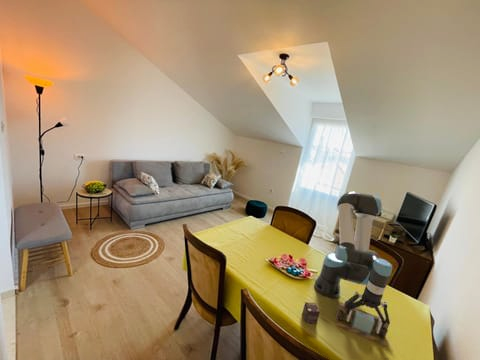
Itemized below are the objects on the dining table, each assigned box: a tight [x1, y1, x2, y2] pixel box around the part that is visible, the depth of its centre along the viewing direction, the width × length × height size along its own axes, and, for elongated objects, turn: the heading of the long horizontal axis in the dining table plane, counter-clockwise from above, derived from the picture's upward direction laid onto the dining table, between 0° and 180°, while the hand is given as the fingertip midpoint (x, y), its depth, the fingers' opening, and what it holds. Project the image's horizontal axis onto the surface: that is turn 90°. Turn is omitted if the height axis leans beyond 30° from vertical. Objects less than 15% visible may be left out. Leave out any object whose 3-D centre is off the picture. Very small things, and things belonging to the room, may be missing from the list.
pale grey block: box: [350, 310, 375, 335], centre depth 115 cm, size 8×4×9 cm, turn 69°
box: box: [302, 301, 321, 325], centre depth 118 cm, size 6×6×7 cm
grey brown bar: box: [335, 301, 390, 347], centre depth 116 cm, size 23×8×8 cm, turn 69°
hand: (361, 325), depth 115 cm, fingers open, 13 cm apart
